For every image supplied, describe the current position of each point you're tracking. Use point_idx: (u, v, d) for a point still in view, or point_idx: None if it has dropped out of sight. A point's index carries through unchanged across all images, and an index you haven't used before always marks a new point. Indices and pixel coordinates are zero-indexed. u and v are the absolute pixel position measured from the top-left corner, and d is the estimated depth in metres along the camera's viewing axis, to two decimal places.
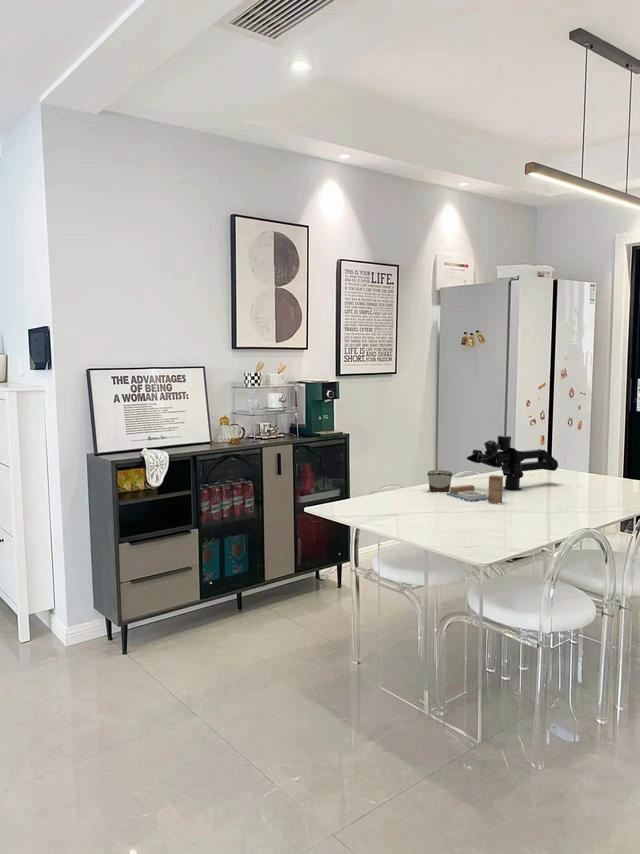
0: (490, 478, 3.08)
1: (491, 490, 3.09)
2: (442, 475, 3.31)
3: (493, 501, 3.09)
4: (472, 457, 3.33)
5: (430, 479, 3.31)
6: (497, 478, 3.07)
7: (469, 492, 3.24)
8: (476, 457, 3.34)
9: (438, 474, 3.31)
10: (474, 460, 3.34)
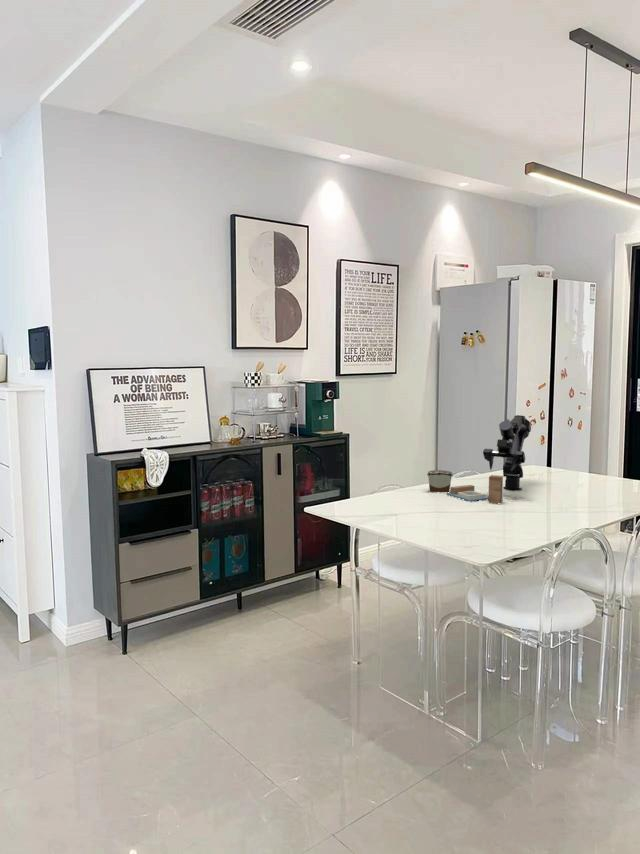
0: (490, 478, 3.08)
1: (491, 490, 3.09)
2: (442, 475, 3.31)
3: (493, 501, 3.09)
4: (491, 463, 3.20)
5: (430, 479, 3.31)
6: (497, 478, 3.07)
7: (469, 492, 3.24)
8: (492, 458, 3.22)
9: (438, 474, 3.31)
10: (492, 462, 3.22)
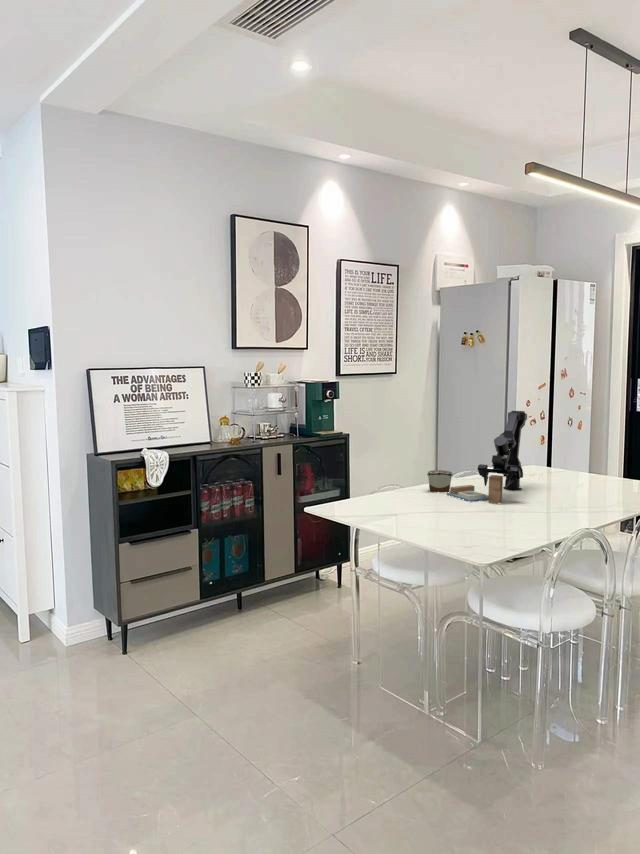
0: (490, 478, 3.08)
1: (491, 490, 3.09)
2: (442, 475, 3.31)
3: (493, 501, 3.09)
4: (486, 479, 3.13)
5: (430, 479, 3.31)
6: (497, 478, 3.07)
7: (469, 492, 3.24)
8: (487, 474, 3.15)
9: (438, 474, 3.31)
10: (487, 478, 3.15)
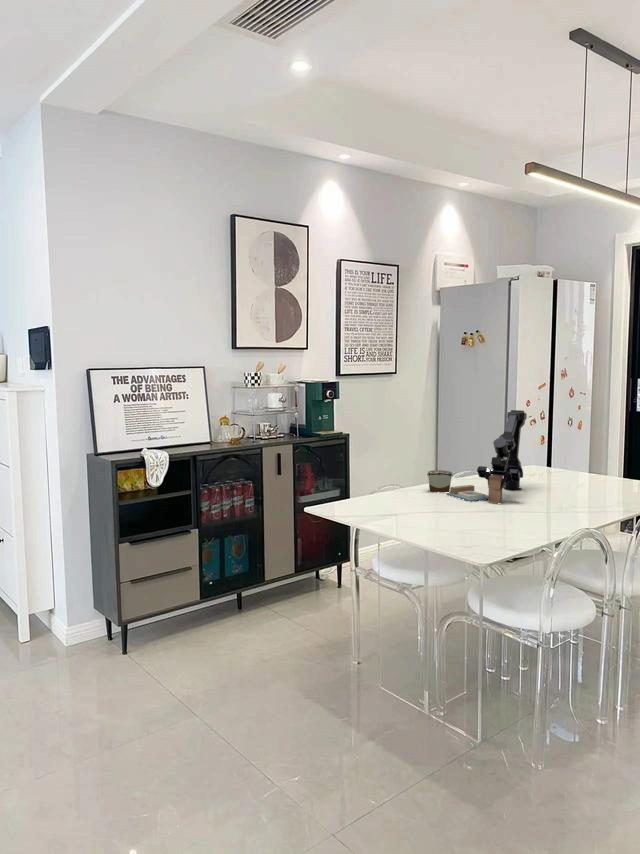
0: (490, 478, 3.08)
1: (491, 490, 3.09)
2: (442, 475, 3.31)
3: (493, 501, 3.09)
4: None
5: (430, 479, 3.31)
6: (497, 478, 3.07)
7: (469, 492, 3.24)
8: None
9: (438, 474, 3.31)
10: None
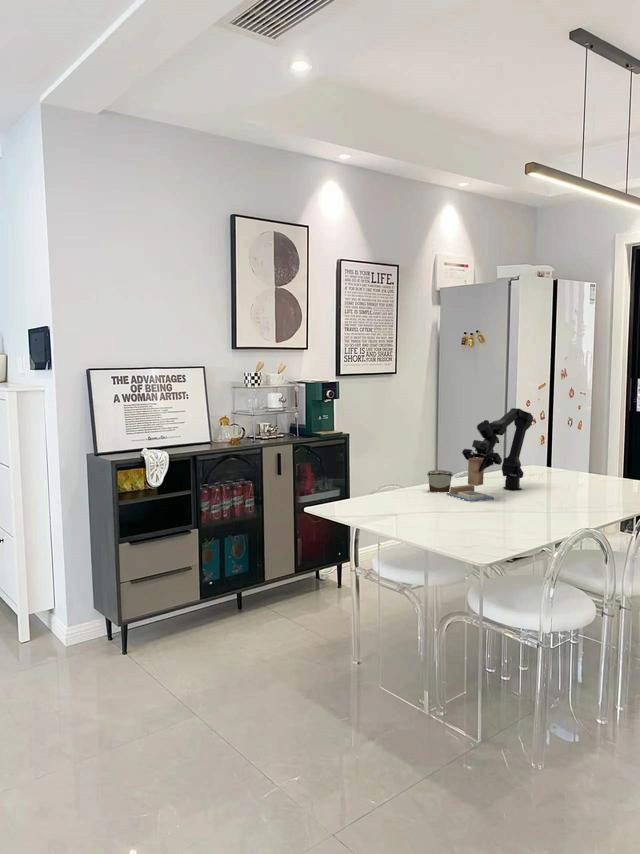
0: (469, 460, 3.15)
1: (470, 472, 3.16)
2: (442, 475, 3.31)
3: (472, 483, 3.15)
4: None
5: (430, 479, 3.31)
6: (475, 460, 3.13)
7: (469, 492, 3.24)
8: None
9: (438, 474, 3.31)
10: None
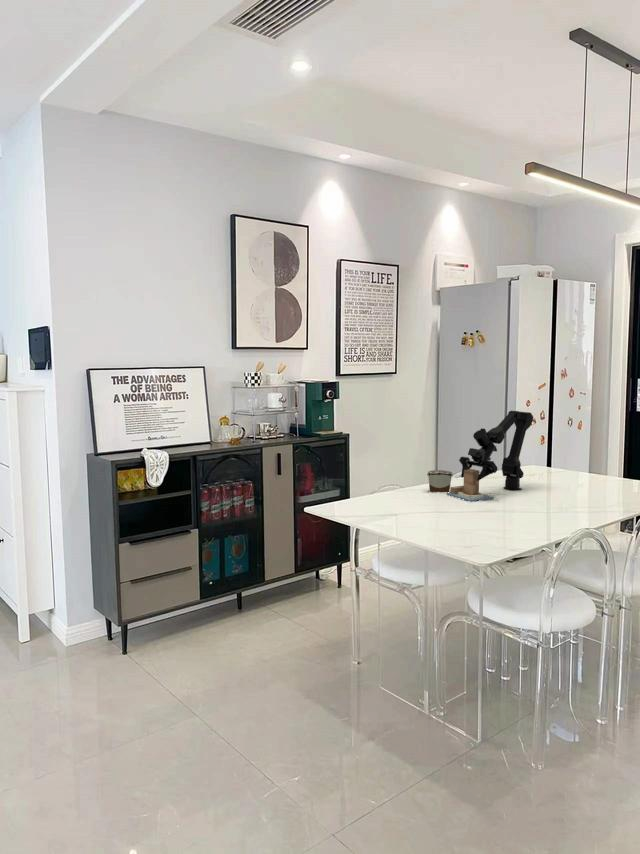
0: (465, 472, 3.18)
1: (465, 484, 3.18)
2: (442, 475, 3.31)
3: (467, 494, 3.18)
4: None
5: (430, 479, 3.31)
6: (470, 472, 3.16)
7: None
8: (467, 466, 3.24)
9: (438, 474, 3.31)
10: None
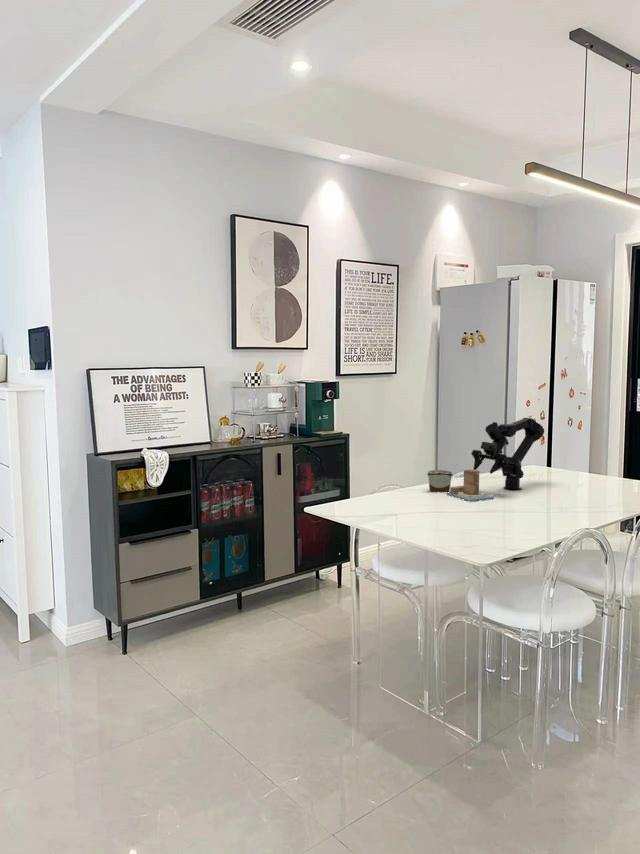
0: (465, 472, 3.18)
1: (465, 484, 3.18)
2: (442, 475, 3.31)
3: (467, 494, 3.18)
4: (477, 464, 3.28)
5: (430, 479, 3.31)
6: (470, 472, 3.16)
7: None
8: (479, 459, 3.29)
9: (438, 474, 3.31)
10: (479, 463, 3.30)
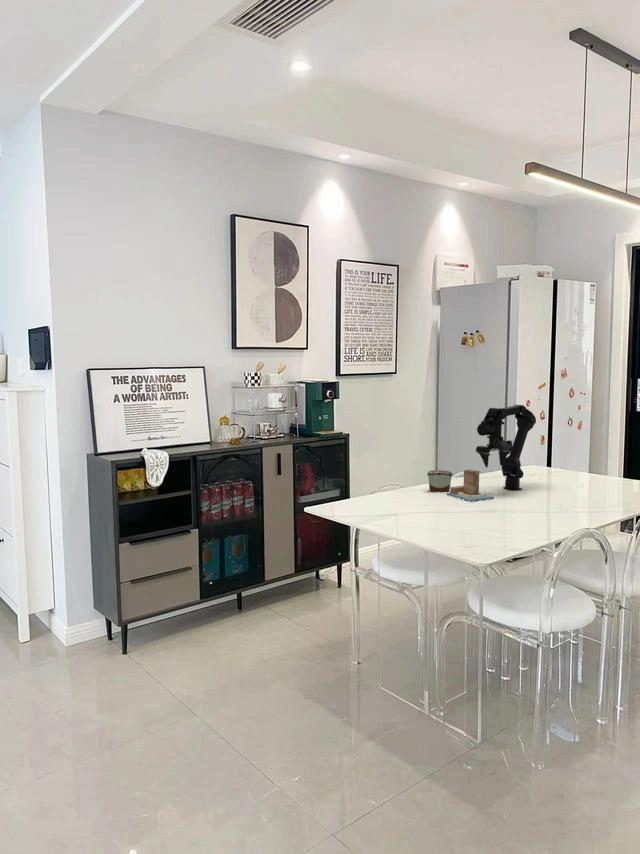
0: (465, 472, 3.18)
1: (465, 484, 3.18)
2: (442, 475, 3.31)
3: (467, 494, 3.18)
4: None
5: (430, 479, 3.31)
6: (470, 472, 3.16)
7: None
8: None
9: (438, 474, 3.31)
10: None
